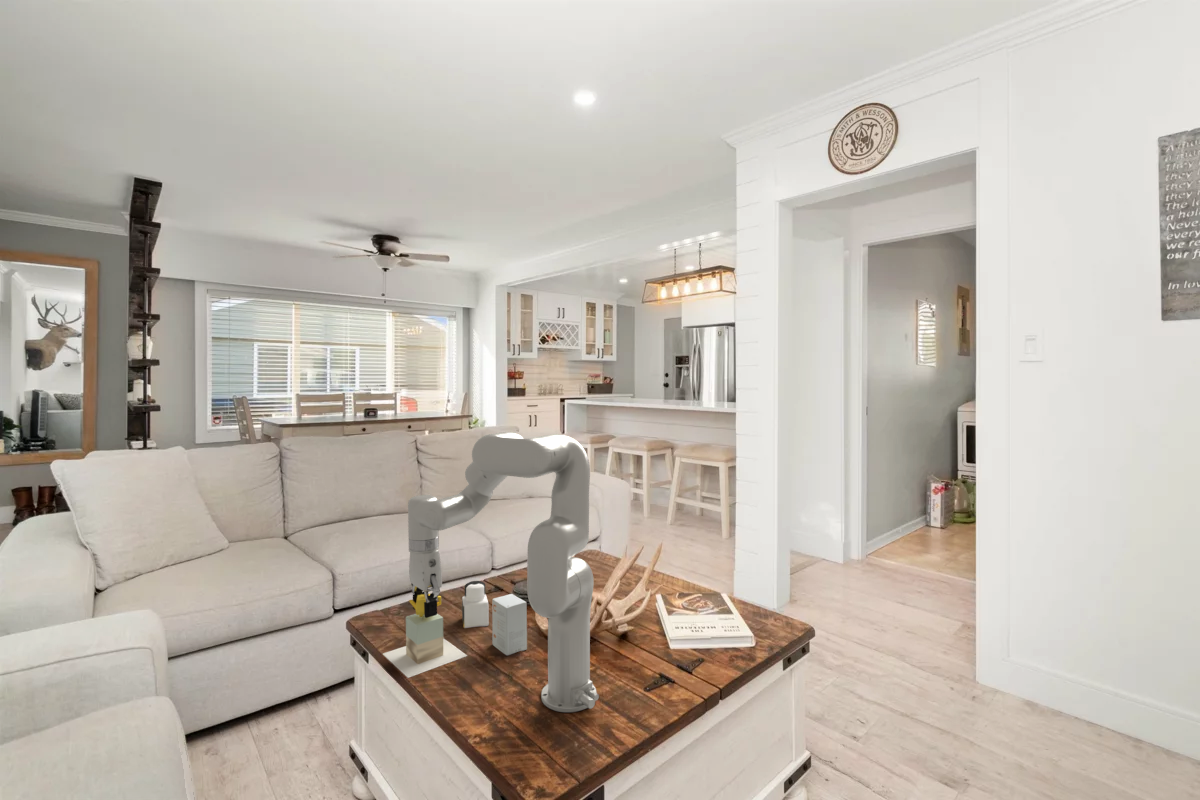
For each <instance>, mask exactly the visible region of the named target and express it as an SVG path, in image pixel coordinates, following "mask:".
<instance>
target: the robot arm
mask: <svg viewBox="0 0 1200 800" xmlns="http://www.w3.org/2000/svg"><path fill="white" fill-rule="evenodd" d="M471 459H472V462H471V463H470V464H469V465H468V466H467V467H466V469H465V472H464V474H465V480H466V482H467V484H468V485H467V486H466V487H464V489H462V490H461V491H460V492H459V493H457V494H454V495H451V496H447V497H444V498H443V497H442V498H440V499H438V498H437V497H436V496H434V495H431V494H422V495H421V494H420V495H416V496H412V497H411V498H410V499H409V500H408V503H407V513H408V514H407V518H408V520H407V522H408V524H407V527H408V529H407V530H408V535H407V536H408V552H409V561H408V562H409V563H408V564H409V565H408V568H409V569H408V570H409V573H408V574H409V575H408V576H409V582H410V583H411V584H410V585H411V587H412V589H411V593H412V600H413V601H414V602H415V603H416V601H417V595H422V594H425V599H426V602H424V616H425V617H426V618H428V617H431V616H435V615H437V614H438V607H437V602H438V601H439V599H438V596H440V593H441V588H442V586H443V576H442V562H441V561H442V560H441V556H440V550H439V549H440V539H439V537H440V531H445V530H447V529H450V528H452V527H456V526H458V525H461V524H464V523H466V522H469V521H470V520H472V519H473V518H474V517H476V516H477V514H479V513H480V512H481V511H482V510H483V509H485V507H486V506H487V505H488V504H489V503H490V501H491V499H492V497H493V494H494V490H495V489H496V488H498V486H499V485H500V484H501V483H502V482H503V481H504V480H505V479H507V478H508V477H516V478H524V479H525V478H526V479H530V478H531V479H532V478H534V479H535V478H538V477H542V476H545V475H549V474H553V473H555V480H554V483H553V485H552V489H551V499H550V500H551V509H550V516H549V518H547V519H546V520H543V521H542V522H540V523H539V524H537V525H536V526H535V527H534V528H533V530H532V531H531V533H530V534H529V535H530V536H529V539H528V543H527V554H526V555H527V558H526V559H527V561H526V563H527V564H526V565H527V568H526V569H527V570H526V571H527V572H526V573H527V574H526V575H527V576H526V581H527V582H526V591H527V597H528V601H529V605H530V607H531V608H532V610H533V611H534V612H535V613H536V614H537V616H540V617H542V618H547V680H548V681H547V683H546V685H544V687H543V688H542V690H541V696H540V698H541V702H542V703H543V705H544V706H545V707H547V708H548V709H550V710H552V711H555V712H560V713H577V712H580V711H583V710H585V709H590V710H591V709H593V708H594V706H595V705H596V701H598V700H599V698H600V694H598V692H597V688H596V687H595V685H594V684H593V680H591V673H590V672H591V668H590V667H591V662H590V661H591V644H590V642H591V641H590V640H591V606H592V600H593V593H594V575H593V570H592V569H591V567H590V565H589V564H588V562H586V561H585V560H583V559H582V558H579V557H575V556H576V555H577V554H580V552H582V551H583V550H584V549H585V548H586V547H587V545H588V543H589V535H590V534H589V533H590V525H589V524H590V483H591V482H590V480H591V465H590V460H589V456H588V454H587V452H586V450H585V448H584V447H583V446H582V444H581V443H579V441H577V439H575V438H573V437H571V436H569V435H566V434H565V435H564V434H557V433H556V434H547V435H543V436H537V437H531V438H524V437H523V436H522V435H520V434H519V433H517V432H512V431H503V432H499V433H497V432H496V433H490V434H486V435H484V436H481V437H480V438H479V439H477V441H476V442H475V444H473V448H472V450H471ZM430 587H431V588H430ZM429 592H431V593H429ZM429 594H430V595H429ZM412 609H413V610H415V608H414V607H413V606H412ZM415 611H416V610H415Z"/></svg>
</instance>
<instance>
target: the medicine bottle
mask: <svg viewBox="0 0 1200 800" xmlns="http://www.w3.org/2000/svg"><path fill="white" fill-rule="evenodd" d="M489 616H490V615H489V601H488V597H487V594H486V584H485V582H483V581H481V580H472V581H469V582H467V583H465V585H464V596H462V597H461V619H462V625H463V626H462V627H463V628H464V629H468V628H476V627H488V626H489V621H490V620H489Z"/></svg>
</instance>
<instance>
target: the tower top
mask: <svg viewBox="0 0 1200 800" xmlns="http://www.w3.org/2000/svg"><path fill="white" fill-rule="evenodd" d="M406 636H407V637H408V638H410V639H411V640H412V641H413V642H415V643H416V644H417V645H419V644H422V643H425V642H428V641H431V640H434V639H437V638H440V637H443V638H444V617H443V616H441V615H440V614H438V613H437V615H435V616H431V617H428V618H426V617H425V616H424V615H423V616H422V617H419V615H416V613H413V614H410V615H407V616H405V637H406Z"/></svg>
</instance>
